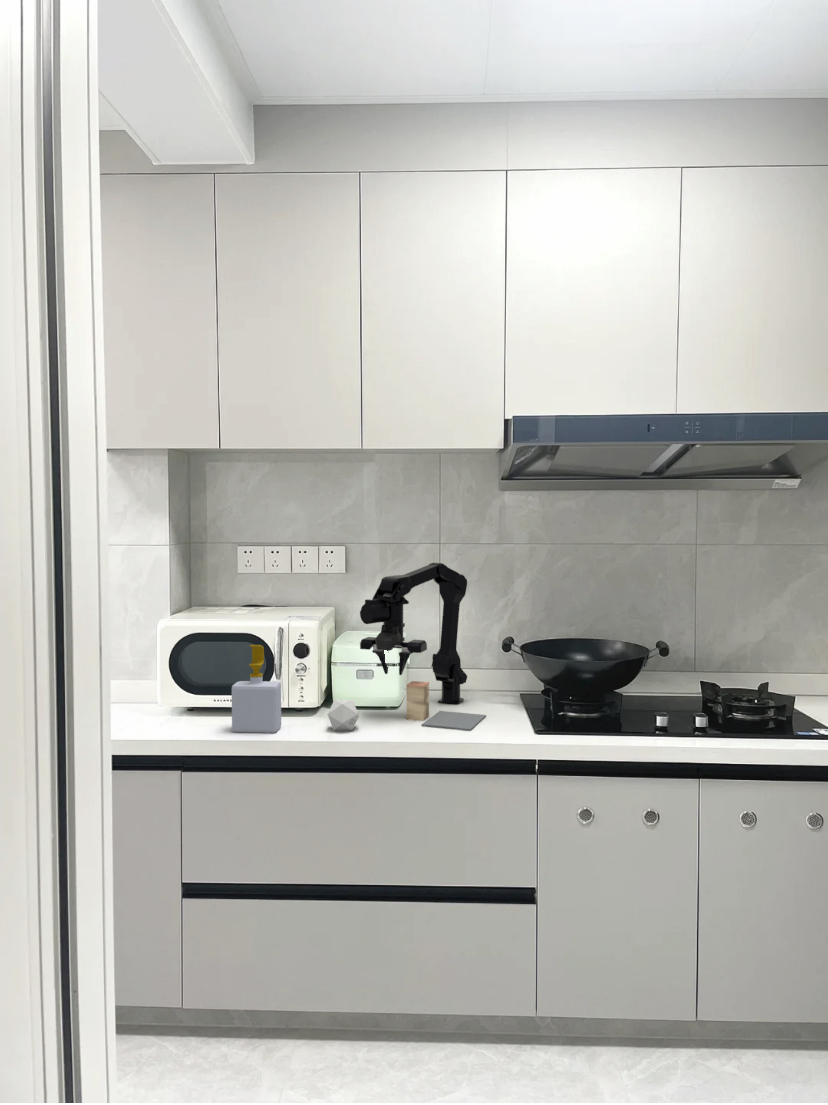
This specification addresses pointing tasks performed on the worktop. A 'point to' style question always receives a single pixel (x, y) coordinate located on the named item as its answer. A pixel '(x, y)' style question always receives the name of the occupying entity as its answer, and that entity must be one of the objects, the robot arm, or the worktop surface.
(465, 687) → the worktop surface
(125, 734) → the worktop surface
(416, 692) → the pine block
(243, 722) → the soap bottle
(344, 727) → the die
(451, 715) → the mat
